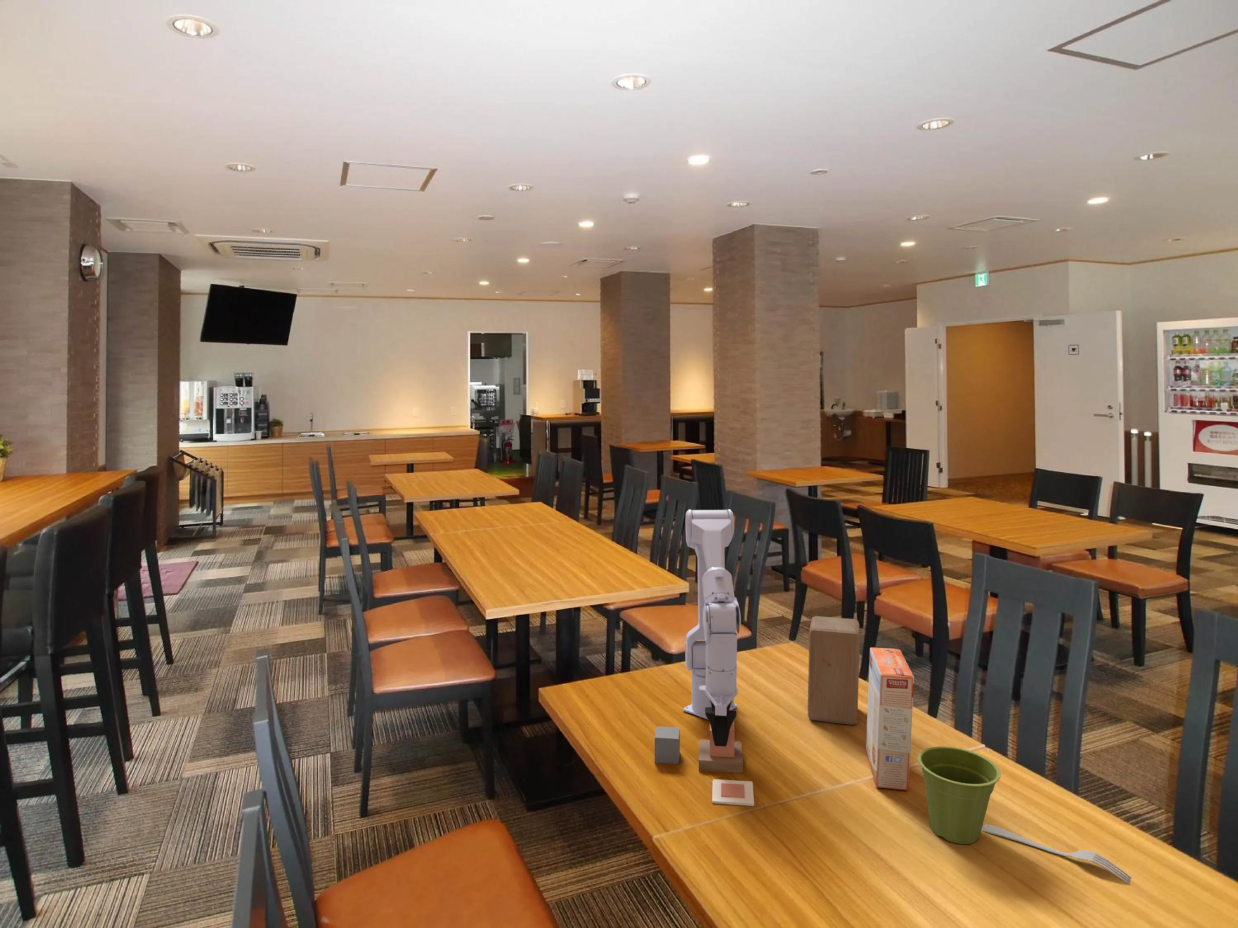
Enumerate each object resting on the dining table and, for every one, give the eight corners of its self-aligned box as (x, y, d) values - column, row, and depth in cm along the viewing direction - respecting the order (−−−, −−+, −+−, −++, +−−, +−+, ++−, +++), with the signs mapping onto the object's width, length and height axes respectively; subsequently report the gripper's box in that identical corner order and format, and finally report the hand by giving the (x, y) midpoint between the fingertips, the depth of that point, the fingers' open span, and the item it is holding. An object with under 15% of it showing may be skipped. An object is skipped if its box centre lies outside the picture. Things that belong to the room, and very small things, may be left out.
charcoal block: (656, 750, 145) (656, 726, 145) (679, 752, 145) (679, 727, 144) (654, 762, 141) (654, 737, 140) (678, 764, 140) (678, 738, 140)
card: (712, 781, 134) (712, 777, 134) (752, 783, 133) (752, 780, 133) (712, 802, 127) (712, 799, 127) (754, 805, 126) (754, 802, 126)
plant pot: (950, 861, 112) (953, 789, 110) (899, 816, 123) (901, 751, 122) (1015, 846, 115) (1019, 777, 113) (959, 804, 126) (962, 741, 125)
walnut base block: (699, 751, 146) (699, 739, 146) (741, 753, 145) (741, 741, 145) (698, 772, 138) (698, 759, 138) (742, 775, 137) (742, 762, 137)
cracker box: (911, 792, 130) (915, 676, 128) (874, 788, 131) (878, 674, 129) (898, 752, 144) (901, 647, 141) (865, 750, 145) (868, 645, 142)
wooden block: (807, 721, 157) (809, 628, 155) (809, 701, 167) (811, 614, 164) (857, 727, 154) (860, 633, 152) (856, 706, 164) (859, 618, 161)
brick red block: (709, 744, 144) (709, 719, 143) (733, 745, 143) (733, 720, 142) (709, 756, 139) (709, 730, 139) (734, 757, 138) (734, 731, 138)
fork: (983, 838, 121) (981, 821, 121) (1137, 880, 107) (1136, 861, 107) (977, 846, 119) (976, 829, 119) (1134, 890, 105) (1133, 871, 105)
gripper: (700, 650, 147) (700, 716, 149) (698, 680, 133) (697, 753, 134) (737, 652, 146) (736, 718, 148) (738, 682, 132) (737, 755, 133)
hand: (720, 735), depth 141 cm, fingers open, 7 cm apart
